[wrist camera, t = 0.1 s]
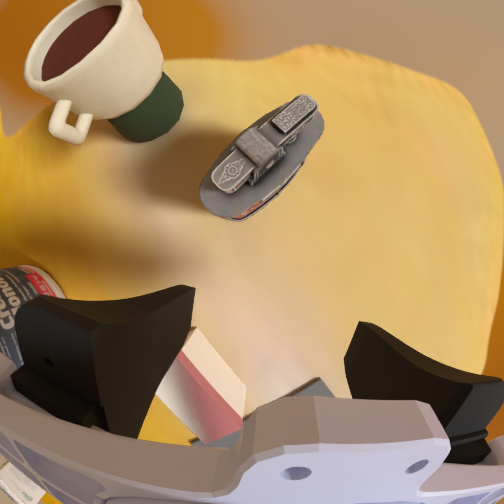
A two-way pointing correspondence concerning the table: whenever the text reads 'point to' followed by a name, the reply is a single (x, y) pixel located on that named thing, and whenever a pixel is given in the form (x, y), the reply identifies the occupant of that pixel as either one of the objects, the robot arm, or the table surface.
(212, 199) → the lighter
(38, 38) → the character mug
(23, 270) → the supplement tub
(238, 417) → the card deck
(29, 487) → the syrup box
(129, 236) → the table surface
